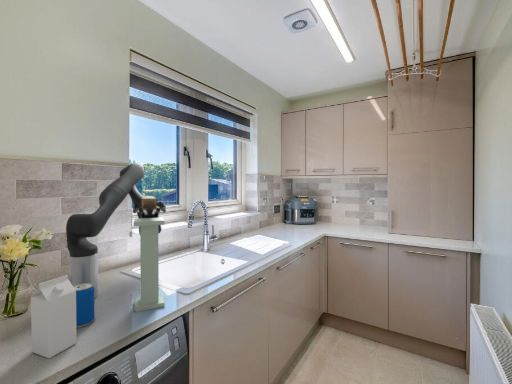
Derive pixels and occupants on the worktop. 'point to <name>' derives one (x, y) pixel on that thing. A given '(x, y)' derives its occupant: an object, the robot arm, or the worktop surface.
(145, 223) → the shelf stand
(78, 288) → the beverage can
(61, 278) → the milk carton
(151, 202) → the walnut rail
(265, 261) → the worktop surface
